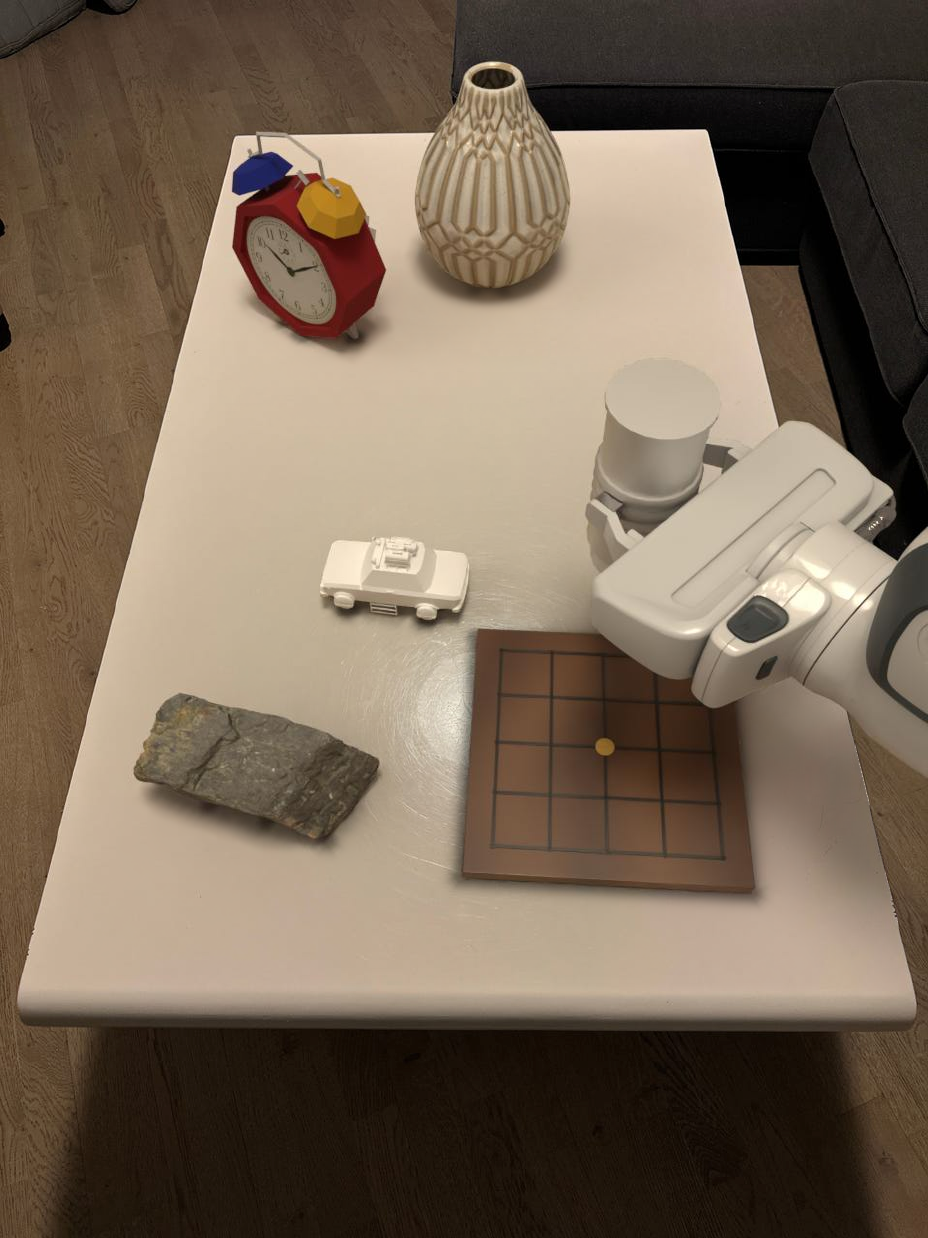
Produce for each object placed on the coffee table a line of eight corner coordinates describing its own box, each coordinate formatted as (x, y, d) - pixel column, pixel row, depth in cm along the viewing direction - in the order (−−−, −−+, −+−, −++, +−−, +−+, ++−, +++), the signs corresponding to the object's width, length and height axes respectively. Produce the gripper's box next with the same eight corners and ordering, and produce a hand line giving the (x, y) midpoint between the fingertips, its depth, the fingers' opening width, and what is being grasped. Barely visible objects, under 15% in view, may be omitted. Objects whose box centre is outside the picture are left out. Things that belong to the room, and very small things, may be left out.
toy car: (335, 556, 81) (324, 505, 76) (472, 571, 80) (472, 521, 75) (319, 613, 78) (307, 564, 73) (462, 630, 77) (460, 582, 71)
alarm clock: (246, 309, 99) (198, 122, 83) (300, 266, 103) (265, 79, 86) (354, 365, 94) (327, 178, 78) (407, 318, 98) (391, 130, 81)
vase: (543, 324, 97) (555, 135, 81) (398, 295, 100) (381, 107, 83) (580, 233, 106) (598, 44, 89) (445, 209, 108) (438, 22, 92)
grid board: (725, 646, 76) (728, 638, 75) (751, 893, 65) (755, 888, 64) (477, 636, 77) (477, 627, 76) (462, 878, 66) (462, 872, 65)
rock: (114, 836, 63) (129, 691, 66) (152, 844, 70) (164, 711, 73) (368, 832, 62) (371, 686, 65) (382, 841, 69) (384, 707, 72)
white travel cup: (698, 545, 68) (745, 389, 55) (644, 608, 65) (681, 458, 52) (619, 500, 70) (646, 340, 58) (564, 558, 68) (580, 404, 55)
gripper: (931, 469, 57) (747, 356, 62) (713, 672, 49) (527, 523, 55) (893, 534, 62) (727, 425, 68) (691, 726, 55) (524, 585, 60)
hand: (635, 470), depth 61 cm, fingers closed on white travel cup, 7 cm apart
